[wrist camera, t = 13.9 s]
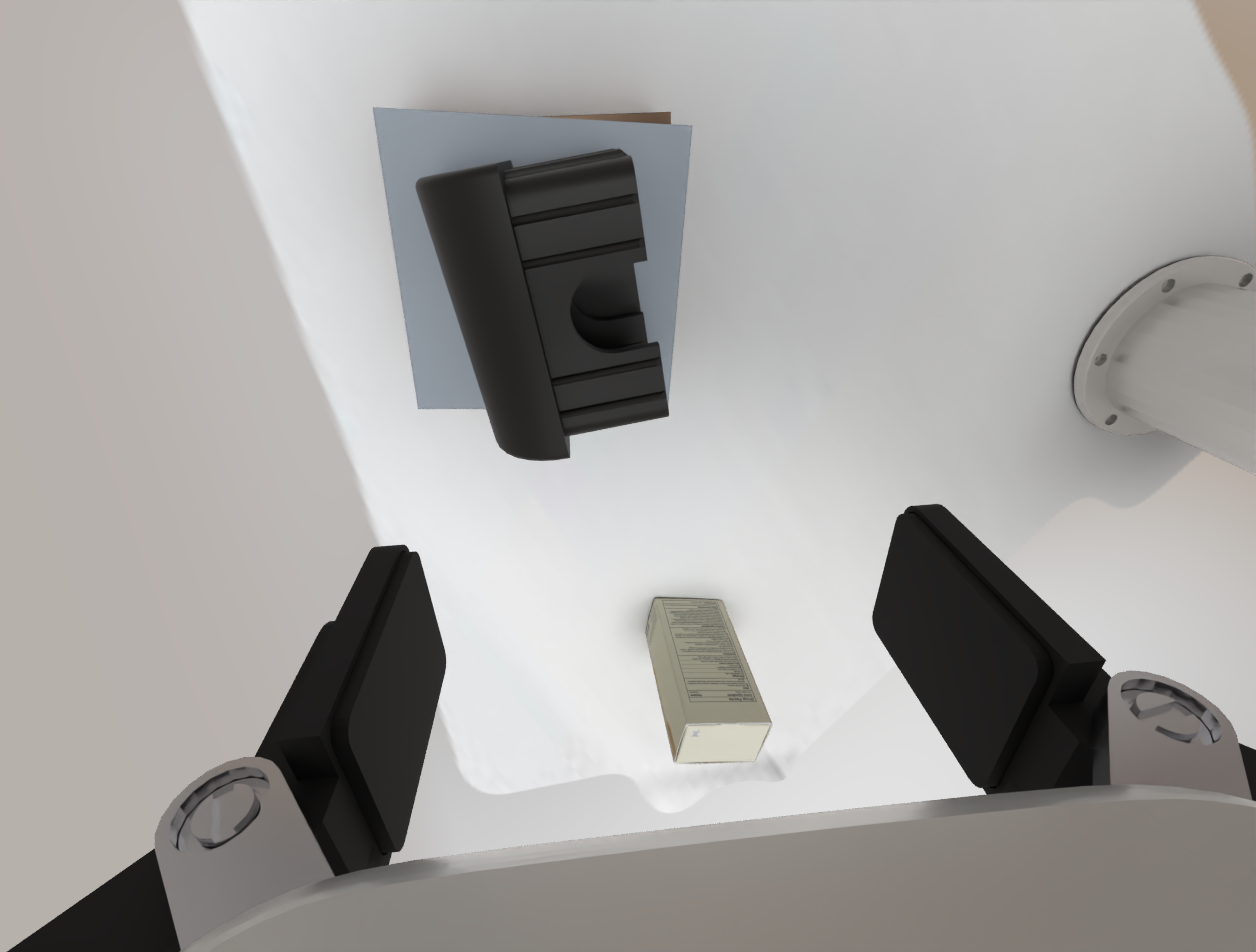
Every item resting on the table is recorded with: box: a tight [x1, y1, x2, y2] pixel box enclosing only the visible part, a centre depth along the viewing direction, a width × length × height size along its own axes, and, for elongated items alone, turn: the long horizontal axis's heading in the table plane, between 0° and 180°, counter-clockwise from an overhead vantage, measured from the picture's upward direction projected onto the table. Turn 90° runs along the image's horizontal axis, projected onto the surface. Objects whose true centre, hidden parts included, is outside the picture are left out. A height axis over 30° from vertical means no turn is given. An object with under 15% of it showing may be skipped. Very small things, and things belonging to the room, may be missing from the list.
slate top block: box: [373, 107, 692, 409], centre depth 27 cm, size 12×12×5 cm
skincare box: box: [646, 598, 772, 764], centre depth 43 cm, size 6×4×12 cm
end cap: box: [415, 148, 669, 461], centre depth 22 cm, size 10×7×7 cm
